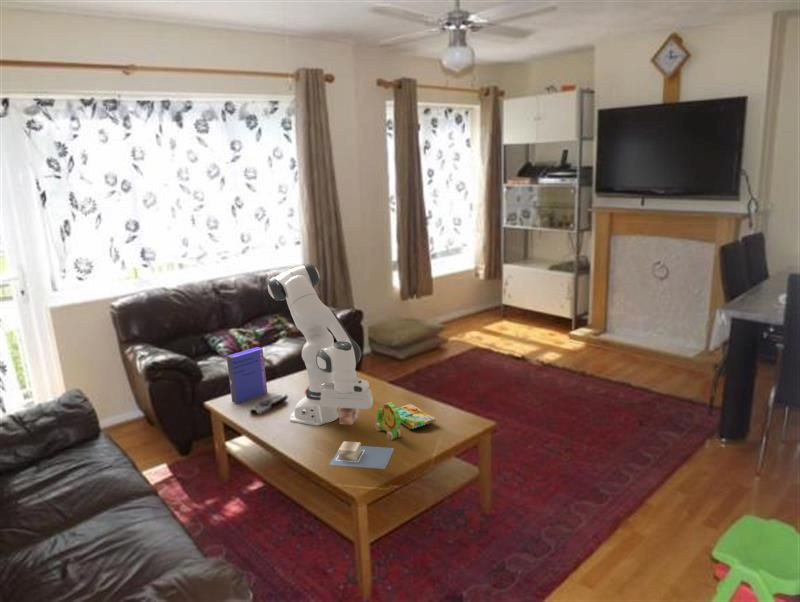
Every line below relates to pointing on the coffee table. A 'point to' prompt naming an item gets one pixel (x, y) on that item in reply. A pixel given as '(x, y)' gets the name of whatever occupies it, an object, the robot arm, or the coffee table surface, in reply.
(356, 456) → the ash base block
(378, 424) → the toy lion
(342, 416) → the terracotta cube
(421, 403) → the coffee table surface
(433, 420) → the puzzle game
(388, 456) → the board
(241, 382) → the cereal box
